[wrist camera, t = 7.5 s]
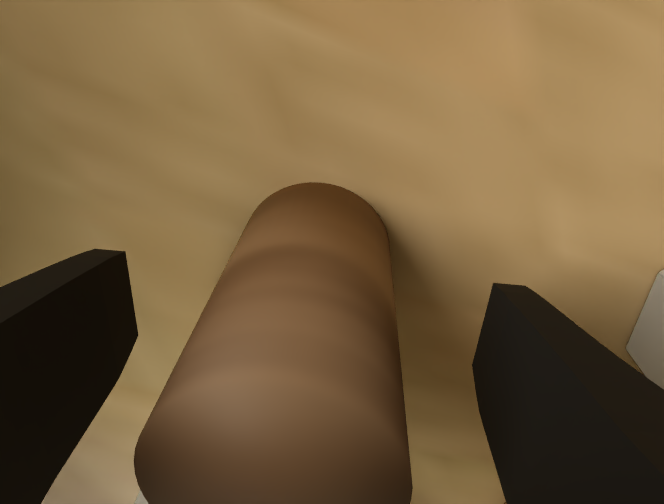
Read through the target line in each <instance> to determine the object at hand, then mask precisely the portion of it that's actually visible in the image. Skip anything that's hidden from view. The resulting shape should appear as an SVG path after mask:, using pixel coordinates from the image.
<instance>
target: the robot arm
mask: <svg viewBox="0 0 664 504" xmlns="http://www.w3.org/2000/svg"><path fill="white" fill-rule="evenodd" d="M137 337H138V330H137V324H136V317H135V311H134V305H133V298H132V292H131V285H130V279H129V272H128V266H127V260H126V253H125V251H113V250H102V249H93V250H90V251H86V252H83V253H81V254H78V255H75V256H73V257H70V258H68V259H65V260H63V261H60V262H58V263H55V264H53V265H51V266H48V267H46V268H44V269H41V270H39V271H37V272H35V273H32V274H30V275H28V276H25V277H23V278H21V279H18V280H16V281H14V282H11V283H9V284H7V285H5V286H2V287H0V504H41V502H42V501H43V499H44V497H45V495H46V494H47V492H48V490H49V489H50V487H51V485H52V483H53V482H54V480H55V478H56V477H57V475H58V474H59V472H60V471H61V469H62V467H63V466H64V464H65V463H66V461H67V460H68V458H69V457H70V455H71V453H72V452H73V450H74V449H75V447H76V446H77V444H78V442H79V441H80V439H81V438H82V436H83V435H84V433H85V431H86V430H87V428H88V427H89V425H90V424H91V422H92V421H93V419H94V417H95V416H96V414H97V413H98V411H99V410H100V408H101V406H102V405H103V403H104V402H105V400H106V398H107V397H108V395H109V394H110V392H111V390H112V389H113V387H114V385H115V384H116V382H117V381H118V379H119V377H120V375H121V373H122V371H123V369H124V366H125V364H126V362H127V360H128V358H129V356H130V353H131V351H132V349H133V346H134V344H135V342H136V339H137ZM472 367H473V374H474V381H475V388H476V395H477V401H478V406H479V412H480V415H481V419H482V423H483V426H484V429H485V433H486V436H487V440H488V443H489V446H490V450H491V453H492V456H493V460H494V463H495V466H496V470H497V473H498V476H499V480H500V483H501V486H502V490H503V493H504V496H505V499H506V503H507V504H664V389H662V388H661V387H660V386H658V385H657V384H655V383H654V382H652V381H651V380H650V379H648V378H647V377H645V376H644V375H643V374H641V373H640V372H638V371H637V370H635V369H634V368H633V367H631V366H630V365H629V364H627V363H626V362H624V361H623V360H622V359H620V358H619V357H618V356H616V355H615V354H614V353H612V352H611V351H610V350H608V349H607V348H606V347H604V346H603V345H602V344H601V343H599V342H598V341H597V340H595V339H594V338H593V337H592V336H590V335H589V334H588V333H586V332H585V331H584V330H583V329H581V328H580V327H579V326H578V325H576V324H575V323H574V322H573V321H571V320H570V319H569V318H568V317H566V316H565V315H564V314H563V313H561V312H560V311H559V310H558V309H556V308H555V307H554V306H552V305H551V304H550V303H549V302H547V301H546V300H545V299H543V298H542V297H541V296H539V295H538V294H537V293H535V292H534V291H533V290H531V289H529V288H528V287H526V286H522V285H510V284H498V283H493V286H492V290H491V294H490V298H489V302H488V306H487V310H486V313H485V317H484V321H483V325H482V329H481V333H480V337H479V341H478V344H477V348H476V352H475V356H474V360H473V364H472Z"/></svg>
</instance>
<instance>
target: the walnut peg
mask: <svg viewBox="0 0 664 504" xmlns="http://www.w3.org/2000/svg"><path fill="white" fill-rule="evenodd" d="M134 467H135V475H136V478H137V482H138V485H139V487H140V490H141V492H142V494H143V496H144V498H145V499H146V501H147V502H148V504H410V501H411V495H412V478H411V467H410V456H409V446H408V435H407V425H406V414H405V404H404V393H403V383H402V372H401V362H400V351H399V341H398V330H397V320H396V309H395V299H394V289H393V278H392V268H391V257H390V247H389V239H388V235H387V231H386V229H385V226H384V224H383V222H382V220H381V219H380V217H379V215H378V214H377V213H376V212H375V210H374V209H373V208H372V207H371V206H370V205H369V204H368V203H367V202H366V201H365V200H363V199H362V198H361V197H359V196H358V195H356V194H354V193H353V192H351V191H349V190H346V189H344V188H342V187H339V186H335V185H331V184H325V183H301V184H296V185H292V186H289V187H286V188H283V189H281V190H279V191H277V192H275V193H273V194H272V195H270V196H269V197H268V198H266V199H265V200H264V201H263V202H262V203H261V204H260V205H259V206H258V207H257V209H256V210H255V211H254V213H253V214H252V216H251V218H250V220H249V222H248V224H247V226H246V227H245V229H244V231H243V233H242V235H241V237H240V239H239V241H238V243H237V245H236V247H235V249H234V251H233V253H232V255H231V257H230V259H229V261H228V263H227V265H226V267H225V269H224V271H223V273H222V275H221V277H220V279H219V281H218V283H217V285H216V287H215V288H214V290H213V292H212V294H211V296H210V298H209V300H208V302H207V304H206V306H205V308H204V310H203V312H202V314H201V316H200V318H199V320H198V322H197V324H196V326H195V328H194V330H193V332H192V334H191V336H190V338H189V340H188V342H187V344H186V346H185V348H184V349H183V351H182V353H181V355H180V357H179V359H178V361H177V363H176V365H175V367H174V369H173V371H172V373H171V375H170V377H169V379H168V381H167V383H166V385H165V387H164V389H163V391H162V393H161V395H160V397H159V399H158V401H157V403H156V405H155V407H154V408H153V410H152V412H151V414H150V416H149V418H148V420H147V422H146V424H145V426H144V428H143V430H142V432H141V434H140V436H139V439H138V442H137V445H136V448H135V456H134Z"/></svg>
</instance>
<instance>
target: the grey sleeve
mask: <svg viewBox="0 0 664 504" xmlns="http://www.w3.org/2000/svg"><path fill="white" fill-rule="evenodd" d="M626 350H627V351H628V353H629V354H630V356H631V357H632V358H633V360H634V361H635V362H636V364H637V365H638V367H639V368H640V369H641V371H642V372H643V373H644V375H645V376H646V377H647V378H648V379H650V380H651V381H652V382H654V383H655V384H657V385H658V386H660V387H661V388H662V389H664V269H663V270H662V271H660V272H659V273H658V274H657V277H656V279H655V281H654V283H653V286H652V288H651V290H650V293H649V295H648V297H647V300H646V302H645V304H644V307H643V309H642V311H641V314H640V316H639V318H638V321H637V323H636V325H635V327H634V330H633V332H632V334H631V337H630V339H629V341H628V344H627V346H626Z"/></svg>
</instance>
